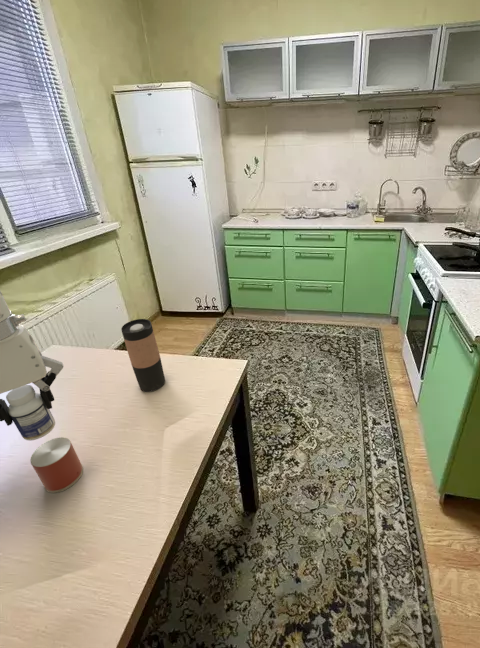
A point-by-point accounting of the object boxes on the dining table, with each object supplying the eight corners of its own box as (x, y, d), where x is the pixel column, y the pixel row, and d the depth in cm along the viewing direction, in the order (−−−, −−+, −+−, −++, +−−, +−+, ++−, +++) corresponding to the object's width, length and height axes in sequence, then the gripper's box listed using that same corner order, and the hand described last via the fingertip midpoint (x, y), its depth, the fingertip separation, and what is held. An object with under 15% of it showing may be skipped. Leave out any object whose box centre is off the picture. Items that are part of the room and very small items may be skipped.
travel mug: (134, 383, 96) (116, 325, 87) (160, 371, 100) (145, 315, 91) (144, 396, 91) (126, 336, 82) (170, 384, 95) (155, 325, 86)
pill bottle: (25, 425, 64) (4, 387, 60) (57, 415, 66) (39, 378, 62) (20, 446, 60) (-3, 406, 55) (54, 434, 62) (34, 396, 57)
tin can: (39, 497, 65) (23, 471, 62) (51, 467, 72) (37, 441, 68) (78, 487, 67) (65, 461, 64) (86, 458, 73) (75, 433, 70)
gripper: (47, 306, 60) (78, 382, 68) (-83, 339, 51) (-29, 423, 59) (51, 321, 55) (85, 402, 63) (-93, 362, 45) (-32, 450, 54)
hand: (30, 411), depth 61 cm, fingers closed on pill bottle, 5 cm apart
